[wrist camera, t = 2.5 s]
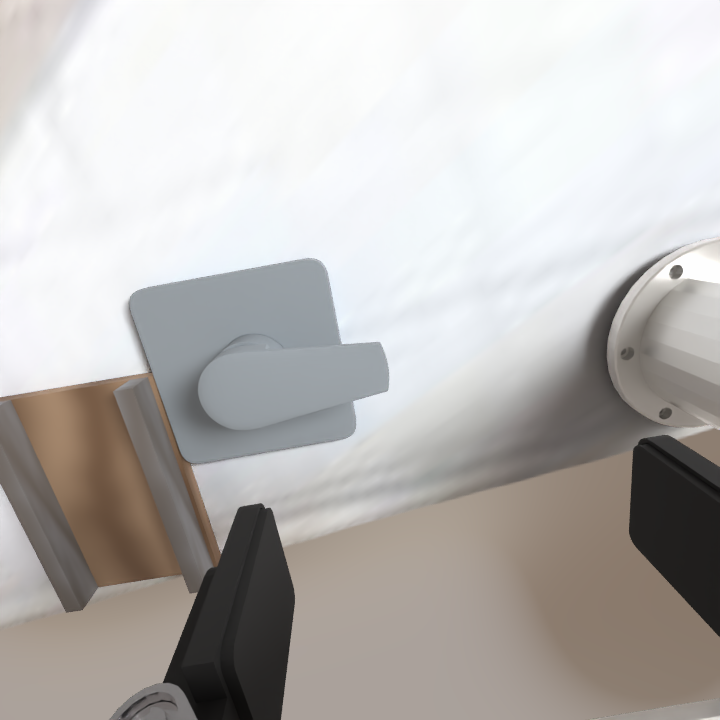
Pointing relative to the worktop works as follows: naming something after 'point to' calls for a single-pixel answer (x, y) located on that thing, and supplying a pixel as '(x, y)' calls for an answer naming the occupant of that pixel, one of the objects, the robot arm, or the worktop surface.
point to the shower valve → (254, 360)
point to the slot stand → (103, 487)
